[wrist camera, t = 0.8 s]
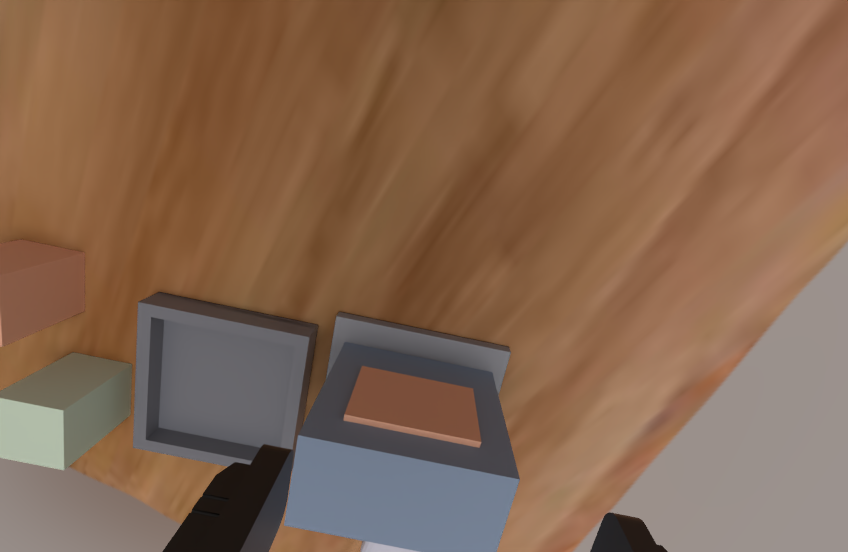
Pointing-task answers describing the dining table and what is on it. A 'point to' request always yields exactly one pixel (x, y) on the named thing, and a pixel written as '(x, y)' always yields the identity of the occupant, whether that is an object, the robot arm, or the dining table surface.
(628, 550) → the robot arm
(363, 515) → the block
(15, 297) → the terracotta block
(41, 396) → the sage block
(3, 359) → the dining table surface
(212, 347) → the tray
